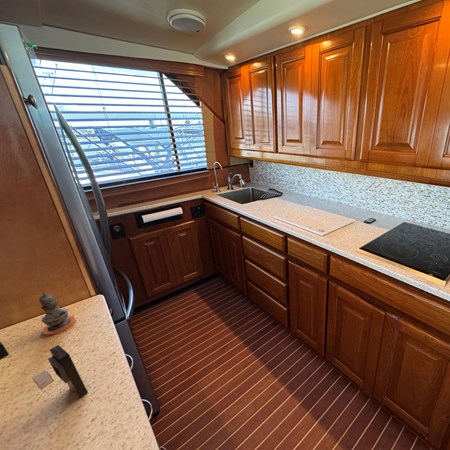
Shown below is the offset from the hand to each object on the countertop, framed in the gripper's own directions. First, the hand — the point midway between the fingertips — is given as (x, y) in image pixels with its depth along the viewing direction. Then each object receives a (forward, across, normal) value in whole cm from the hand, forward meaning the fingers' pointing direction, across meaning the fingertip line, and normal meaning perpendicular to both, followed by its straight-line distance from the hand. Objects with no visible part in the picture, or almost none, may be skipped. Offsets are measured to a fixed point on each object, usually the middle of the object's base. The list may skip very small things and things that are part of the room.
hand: (4, 348), depth 43 cm
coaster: (+12, -30, -19) cm, 37 cm away
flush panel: (+5, 0, -19) cm, 19 cm away
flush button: (+2, 0, -12) cm, 12 cm away
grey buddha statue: (+12, -30, -18) cm, 37 cm away
